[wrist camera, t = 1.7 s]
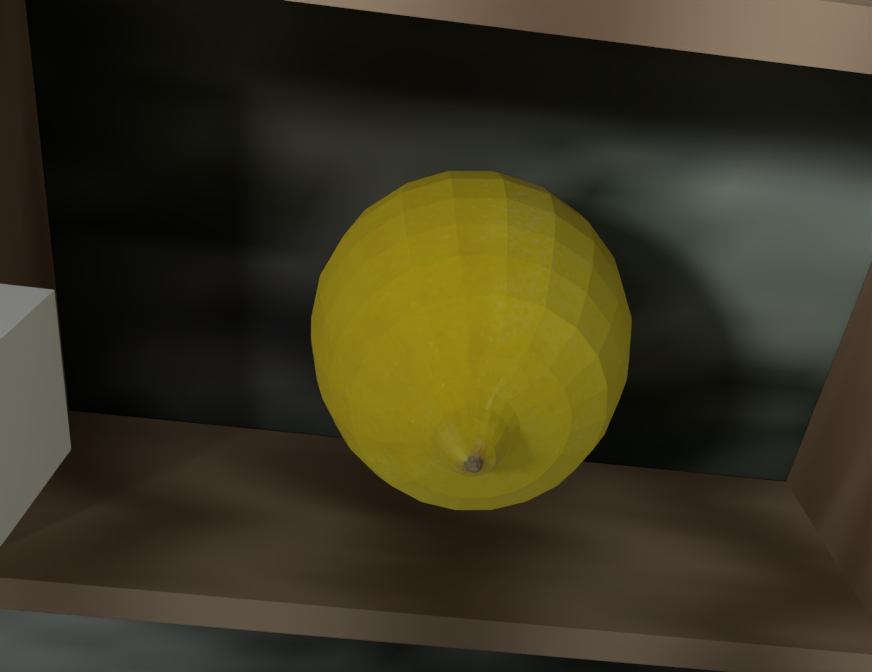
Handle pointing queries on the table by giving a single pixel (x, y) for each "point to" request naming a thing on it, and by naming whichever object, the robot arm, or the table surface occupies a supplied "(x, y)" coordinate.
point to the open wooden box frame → (464, 529)
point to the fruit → (471, 339)
